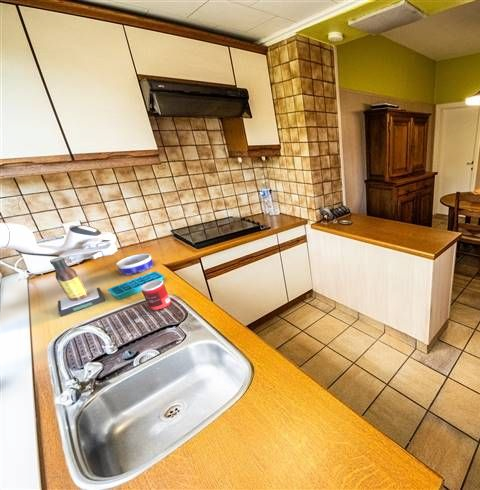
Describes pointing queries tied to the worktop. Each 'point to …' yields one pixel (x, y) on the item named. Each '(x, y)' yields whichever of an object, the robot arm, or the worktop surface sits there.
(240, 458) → the worktop surface
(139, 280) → the ice cube tray
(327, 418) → the worktop surface
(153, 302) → the canned food
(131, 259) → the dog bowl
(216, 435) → the worktop surface
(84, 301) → the scale
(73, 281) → the sauce bottle
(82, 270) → the worktop surface
